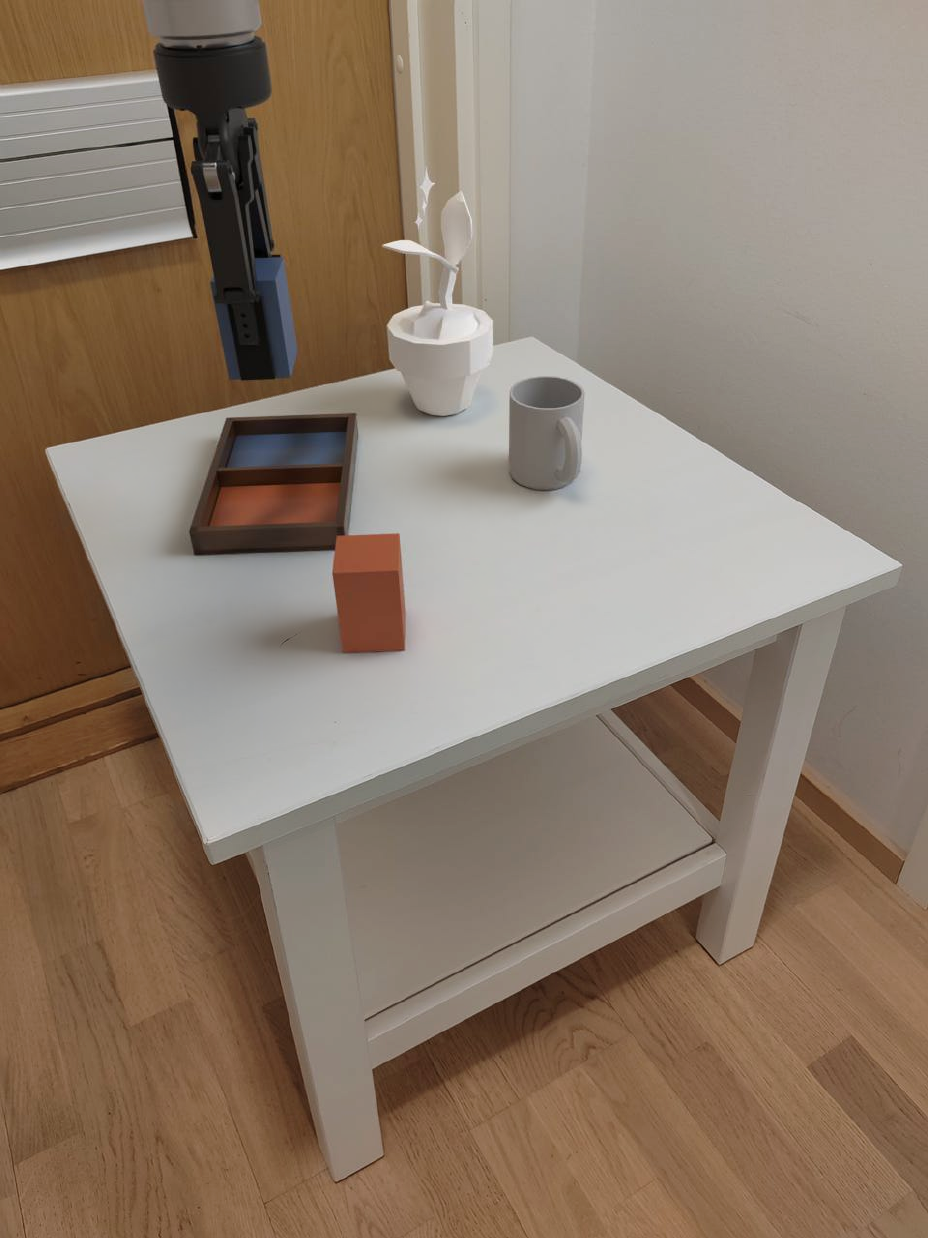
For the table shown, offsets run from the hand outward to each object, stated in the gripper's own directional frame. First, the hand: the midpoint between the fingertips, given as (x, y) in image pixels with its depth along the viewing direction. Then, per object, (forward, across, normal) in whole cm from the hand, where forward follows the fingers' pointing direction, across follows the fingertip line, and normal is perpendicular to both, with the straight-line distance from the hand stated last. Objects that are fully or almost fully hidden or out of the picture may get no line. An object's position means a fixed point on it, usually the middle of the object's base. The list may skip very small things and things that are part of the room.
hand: (263, 362), depth 79 cm
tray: (+17, +8, +2) cm, 19 cm away
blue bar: (0, 0, 0) cm, 0 cm away
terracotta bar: (+17, -15, -8) cm, 24 cm away
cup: (+18, +9, -25) cm, 32 cm away
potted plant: (+18, +25, -14) cm, 34 cm away
